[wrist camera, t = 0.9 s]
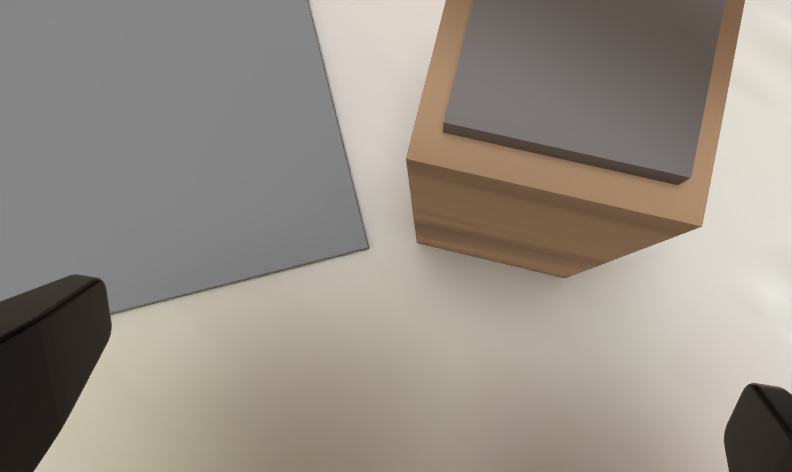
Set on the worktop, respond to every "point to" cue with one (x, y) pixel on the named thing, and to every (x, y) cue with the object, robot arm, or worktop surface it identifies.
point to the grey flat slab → (166, 146)
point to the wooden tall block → (569, 127)
